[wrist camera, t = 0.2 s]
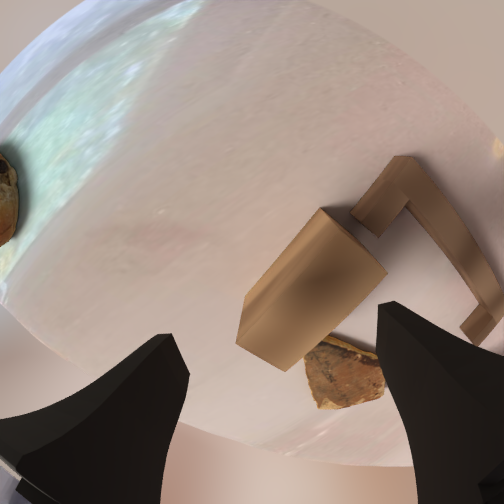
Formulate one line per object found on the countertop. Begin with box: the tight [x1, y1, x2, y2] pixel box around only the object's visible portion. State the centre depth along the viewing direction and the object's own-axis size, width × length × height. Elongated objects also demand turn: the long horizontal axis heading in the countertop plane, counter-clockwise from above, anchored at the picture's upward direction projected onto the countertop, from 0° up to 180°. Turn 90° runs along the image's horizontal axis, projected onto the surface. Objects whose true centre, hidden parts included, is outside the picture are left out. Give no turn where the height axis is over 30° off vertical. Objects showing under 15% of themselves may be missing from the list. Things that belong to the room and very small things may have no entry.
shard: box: [303, 335, 385, 409], centre depth 20 cm, size 11×8×2 cm
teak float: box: [236, 208, 388, 372], centre depth 16 cm, size 4×8×6 cm, turn 143°
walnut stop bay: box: [350, 156, 504, 346], centre depth 16 cm, size 18×5×2 cm, turn 53°
